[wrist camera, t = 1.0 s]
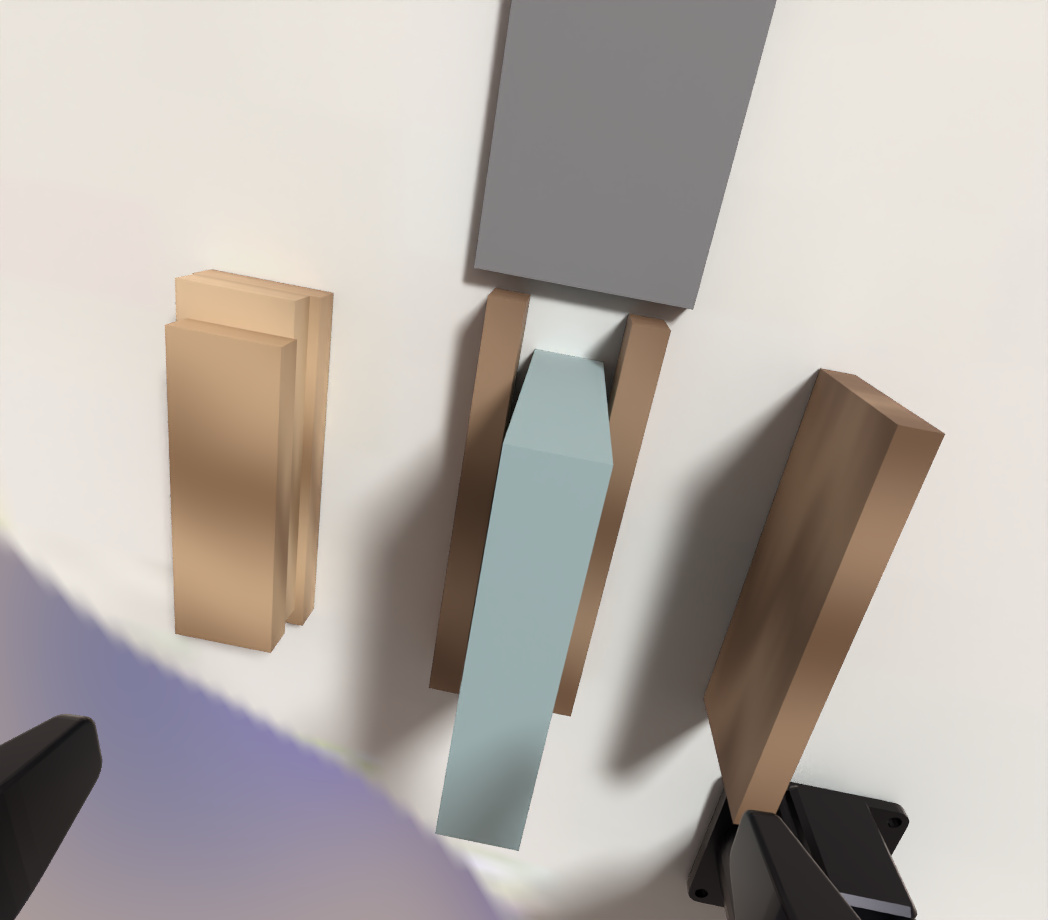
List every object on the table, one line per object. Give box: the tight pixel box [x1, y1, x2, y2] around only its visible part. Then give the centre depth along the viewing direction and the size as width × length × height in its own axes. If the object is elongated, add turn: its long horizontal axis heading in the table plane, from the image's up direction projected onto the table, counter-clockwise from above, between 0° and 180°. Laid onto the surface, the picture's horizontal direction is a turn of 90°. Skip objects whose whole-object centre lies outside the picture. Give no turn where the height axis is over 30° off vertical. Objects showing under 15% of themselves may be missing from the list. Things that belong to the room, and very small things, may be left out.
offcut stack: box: [165, 270, 333, 653], centre depth 20 cm, size 11×4×3 cm, turn 170°
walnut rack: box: [429, 288, 945, 824], centre depth 19 cm, size 13×10×5 cm
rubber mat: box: [474, 0, 776, 310], centre depth 16 cm, size 12×6×1 cm, turn 170°
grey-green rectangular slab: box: [435, 349, 613, 851], centre depth 17 cm, size 10×2×8 cm, turn 170°
